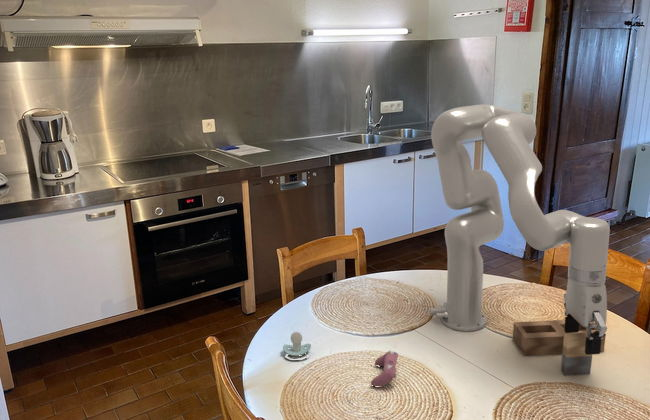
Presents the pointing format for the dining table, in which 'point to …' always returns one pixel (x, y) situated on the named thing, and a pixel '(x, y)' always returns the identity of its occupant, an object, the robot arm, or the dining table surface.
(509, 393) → the dining table surface
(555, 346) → the hollow wooden brick
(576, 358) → the rail end
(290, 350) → the pacifier
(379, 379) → the purple curved piece
